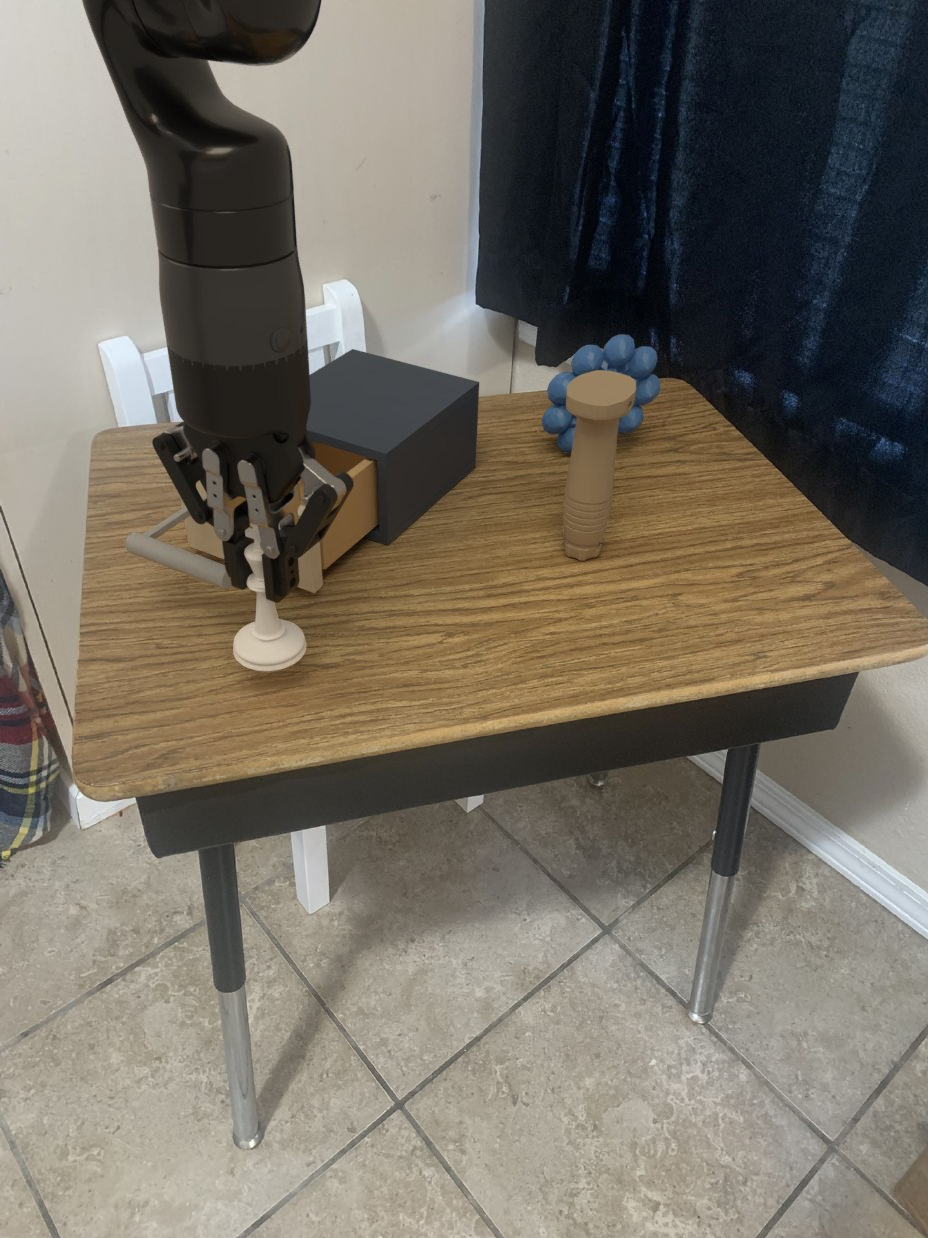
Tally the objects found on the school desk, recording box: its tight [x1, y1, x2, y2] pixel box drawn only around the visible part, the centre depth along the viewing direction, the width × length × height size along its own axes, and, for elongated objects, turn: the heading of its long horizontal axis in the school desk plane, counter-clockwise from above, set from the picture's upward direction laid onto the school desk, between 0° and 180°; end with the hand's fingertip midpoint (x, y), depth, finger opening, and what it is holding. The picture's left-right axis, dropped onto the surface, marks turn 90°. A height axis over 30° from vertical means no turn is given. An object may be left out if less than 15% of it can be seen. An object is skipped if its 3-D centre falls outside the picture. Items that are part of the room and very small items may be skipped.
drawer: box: [124, 440, 379, 594], centre depth 78 cm, size 22×13×7 cm, turn 151°
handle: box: [562, 370, 636, 562], centre depth 79 cm, size 5×6×15 cm
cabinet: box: [307, 348, 480, 546], centre depth 88 cm, size 16×14×9 cm
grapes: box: [541, 333, 661, 454], centre depth 94 cm, size 12×7×12 cm, turn 103°
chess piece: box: [232, 524, 307, 672], centre depth 64 cm, size 5×5×10 cm
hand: (263, 587), depth 64 cm, fingers closed on chess piece
